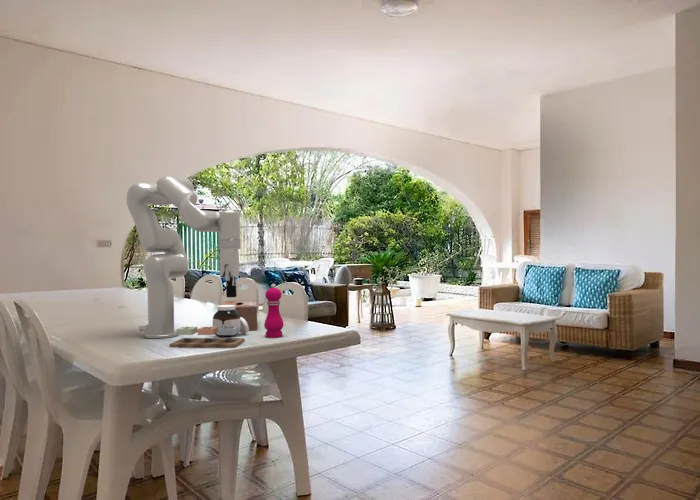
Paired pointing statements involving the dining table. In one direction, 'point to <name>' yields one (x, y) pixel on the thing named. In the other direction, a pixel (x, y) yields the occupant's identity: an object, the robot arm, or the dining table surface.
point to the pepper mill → (273, 313)
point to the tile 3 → (228, 330)
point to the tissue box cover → (246, 311)
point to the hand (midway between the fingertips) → (231, 297)
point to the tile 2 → (207, 330)
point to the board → (208, 342)
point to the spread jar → (229, 320)
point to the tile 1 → (186, 330)
